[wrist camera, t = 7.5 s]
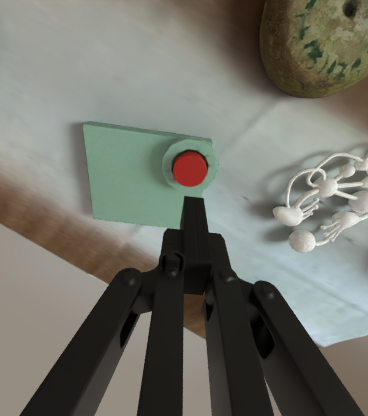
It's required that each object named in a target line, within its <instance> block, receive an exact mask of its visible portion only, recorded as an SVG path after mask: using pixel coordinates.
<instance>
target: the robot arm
mask: <svg viewBox="0 0 368 416" xmlns="http://www.w3.org/2000/svg"><path fill="white" fill-rule="evenodd" d="M204 290H205V300H204V303H203V306H202V310H201V313H203V311H204V317H205V330H206V342H207V356H208V369H209V383H210V396H211V409H212V416H274V413H273V409H272V406H271V402H270V398H269V394H268V390H267V387H266V383H265V379H266V382H267V384H268V386H269V388H270V391H271V393H272V395H273V397H274V400H275V402H276V404H277V406H278V408H279V410H280V413H281V415H282V416H365V415H364V414H363V413H362V411H361V410H360V408H359V407H358V405H357V404H356V402H355V401H354V399H353V398H352V396H351V395H350V394H349V392H348V391H347V389H346V388H345V387H344V385H343V384H342V382H341V381H340V379H339V378H338V376H337V375H336V373H335V372H334V370H333V369H332V367H331V366H330V365H329V363H328V362H327V360H326V359H325V357H324V356H323V355H322V353H321V352H320V350H319V349H318V347H317V346H316V344H315V343H314V341H313V340H312V339H311V337H310V336H309V334H308V333H307V331H306V330H305V328H304V327H303V325H302V324H301V323H300V321H299V320H298V318H297V317H296V315H295V314H294V312H293V311H292V310H291V308H290V307H289V305H288V304H287V302H286V301H285V299H284V298H283V296H282V295H281V294H280V292H279V291H278V289H277V288H276V287H275V286H274V285H272V284H271V283H269V282H267V281H261V280H260V281H257V282H255V284H251V283H249V282H246V281H243V280H241V279H240V278H238V276H237V274H236V273H235V272H234V271H233V270H232V269H231V265H230V261H229V256H228V252H227V248H226V244H225V240H224V238H223V237H222V236H221V234H218V233H209V231H208V225H207V218H206V211H205V205H204V198H199V197H191V196H184V201H183V208H182V214H181V220H180V230H178V229H170V228H168V229H167V230H166V231H165V232H164V235H163V242H162V249H161V255H160V257H159V264H158V266H157V267H156V268H155V269H153V270H151V271H148V272H143V273H141V272H140V271H139V270H137V269H135V268H125V269H123V270H121V271H119V272H118V273H117V274H116V276H115V277H114V279H113V280H112V281H111V283H110V284H109V286H108V287H107V289H106V290H105V292H104V293H103V295H102V296H101V297H100V299H99V300H98V302H97V304H96V305H95V306H94V308H93V309H92V311H91V312H90V314H89V315H88V316H87V318H86V319H85V321H84V322H83V324H82V325H81V327H80V328H79V330H78V331H77V332H76V334H75V335H74V337H73V338H72V340H71V341H70V343H69V344H68V346H67V347H66V349H65V350H64V351H63V353H62V354H61V356H60V357H59V359H58V360H57V362H56V363H55V365H54V366H53V368H52V369H51V370H50V372H49V373H48V375H47V376H46V378H45V379H44V381H43V382H42V384H41V385H40V386H39V388H38V389H37V391H36V392H35V394H34V395H33V397H32V398H31V400H30V401H29V402H28V404H27V405H26V407H25V408H24V410H23V411H22V413H21V414H20V416H94V415H95V413H96V411H97V409H98V406H99V404H100V402H101V400H102V398H103V395H104V393H105V391H106V389H107V386H108V384H109V382H110V380H111V378H112V376H113V373H114V371H115V369H116V367H117V365H118V362H119V360H120V358H121V356H122V354H123V352H124V349H125V347H126V345H127V343H128V340H129V338H130V336H131V334H132V332H133V330H134V327H135V325H136V323H137V321H138V319H139V316H140V314H142V313H146V312H150V311H152V315H151V322H150V328H149V336H148V343H147V349H146V356H145V363H144V370H143V377H142V383H141V391H140V397H139V404H138V411H137V416H182V415H183V414H182V413H183V412H182V411H183V410H182V409H183V302H184V294H194V295H203V294H204ZM264 377H265V379H264Z"/></svg>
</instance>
